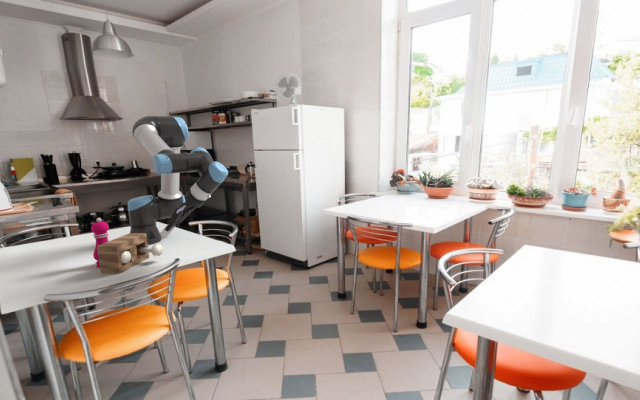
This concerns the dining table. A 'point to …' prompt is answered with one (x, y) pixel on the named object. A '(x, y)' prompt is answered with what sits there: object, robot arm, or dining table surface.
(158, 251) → the inner knob
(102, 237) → the pepper mill
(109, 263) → the walnut block
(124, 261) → the outer knob
